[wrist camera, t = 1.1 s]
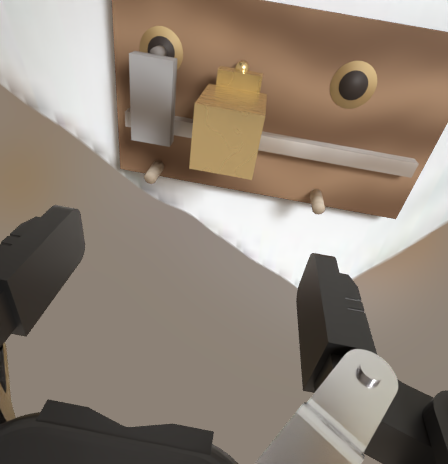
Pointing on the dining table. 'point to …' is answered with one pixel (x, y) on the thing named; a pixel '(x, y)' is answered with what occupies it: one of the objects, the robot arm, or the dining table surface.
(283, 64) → the wooden slider board
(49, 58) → the dining table surface
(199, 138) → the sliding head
